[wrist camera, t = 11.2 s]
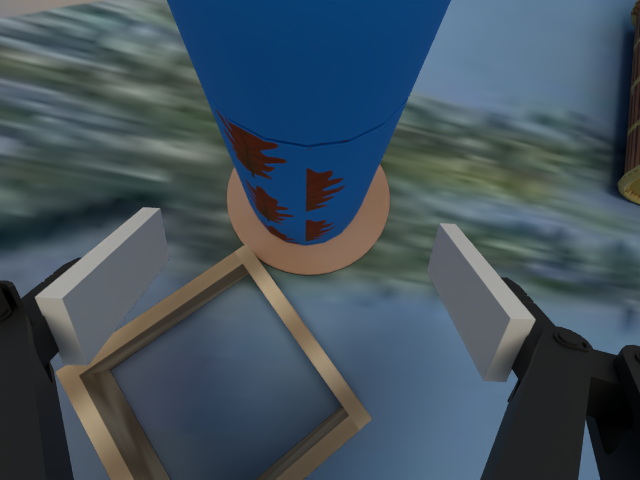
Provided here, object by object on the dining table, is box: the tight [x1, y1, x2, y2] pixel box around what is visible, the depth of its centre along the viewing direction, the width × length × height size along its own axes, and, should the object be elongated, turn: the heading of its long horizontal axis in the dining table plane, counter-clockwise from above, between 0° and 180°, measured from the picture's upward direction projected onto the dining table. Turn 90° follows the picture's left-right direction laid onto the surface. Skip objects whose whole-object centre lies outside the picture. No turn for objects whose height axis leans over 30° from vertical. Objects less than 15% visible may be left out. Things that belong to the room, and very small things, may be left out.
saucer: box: [227, 164, 390, 275], centre depth 33 cm, size 16×16×1 cm
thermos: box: [167, 0, 451, 246], centre depth 20 cm, size 11×11×25 cm
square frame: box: [56, 244, 372, 480], centre depth 26 cm, size 16×16×4 cm
